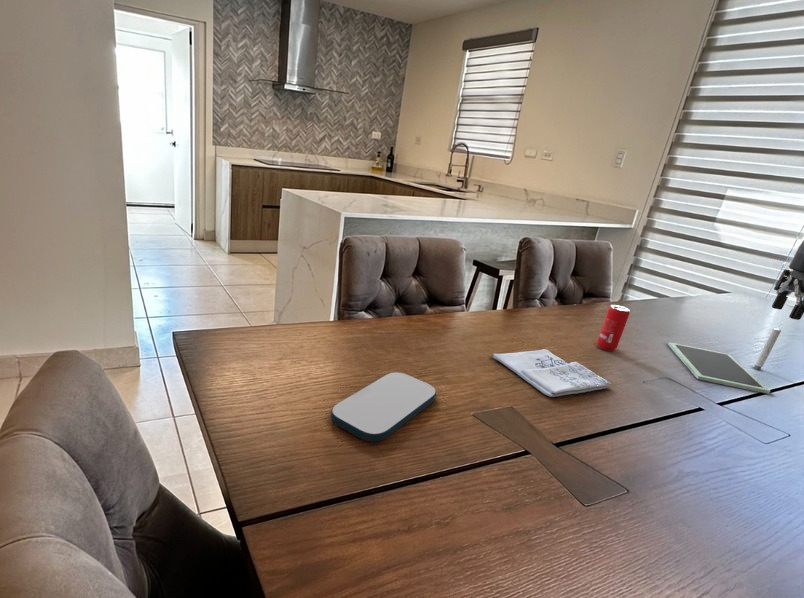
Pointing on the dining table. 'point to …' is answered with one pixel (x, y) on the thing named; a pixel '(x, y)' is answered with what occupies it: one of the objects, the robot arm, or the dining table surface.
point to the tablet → (717, 368)
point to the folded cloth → (552, 373)
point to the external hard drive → (383, 406)
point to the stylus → (767, 348)
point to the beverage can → (613, 327)
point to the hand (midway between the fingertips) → (784, 313)
